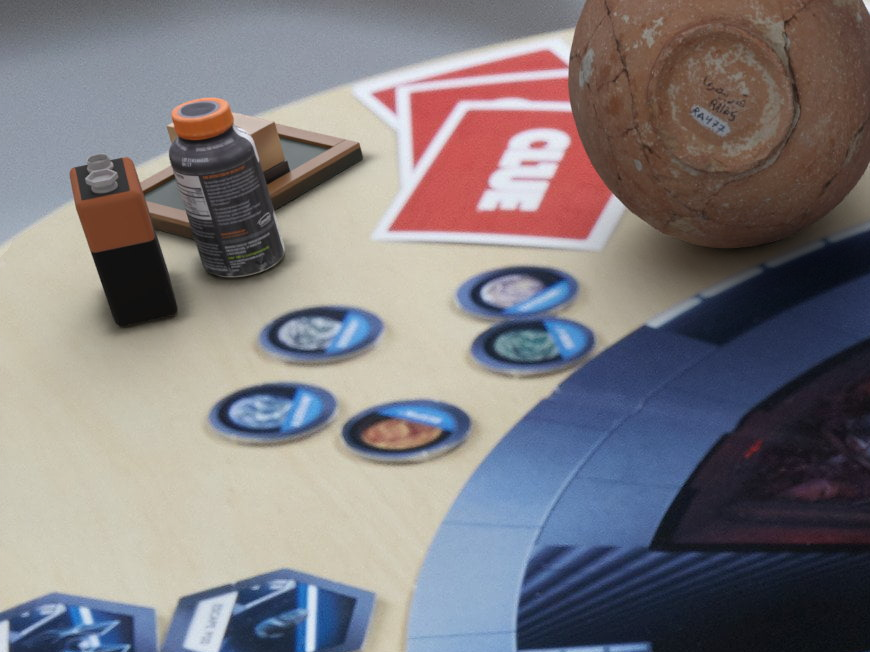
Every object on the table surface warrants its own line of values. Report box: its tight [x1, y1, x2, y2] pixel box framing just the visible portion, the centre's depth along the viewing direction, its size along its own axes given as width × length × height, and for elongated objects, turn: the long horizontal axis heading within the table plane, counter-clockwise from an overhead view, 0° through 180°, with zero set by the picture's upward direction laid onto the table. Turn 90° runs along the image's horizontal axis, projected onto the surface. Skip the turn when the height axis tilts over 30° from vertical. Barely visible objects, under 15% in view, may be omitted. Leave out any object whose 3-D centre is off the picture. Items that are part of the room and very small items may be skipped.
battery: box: [69, 153, 178, 328], centre depth 165 cm, size 4×7×10 cm, turn 20°
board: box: [140, 122, 364, 240], centre depth 182 cm, size 16×11×1 cm
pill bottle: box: [168, 97, 286, 278], centre depth 169 cm, size 6×6×11 cm
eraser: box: [165, 111, 290, 185], centre depth 180 cm, size 4×8×4 cm, turn 59°
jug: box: [567, 0, 870, 249], centre depth 168 cm, size 22×22×30 cm
